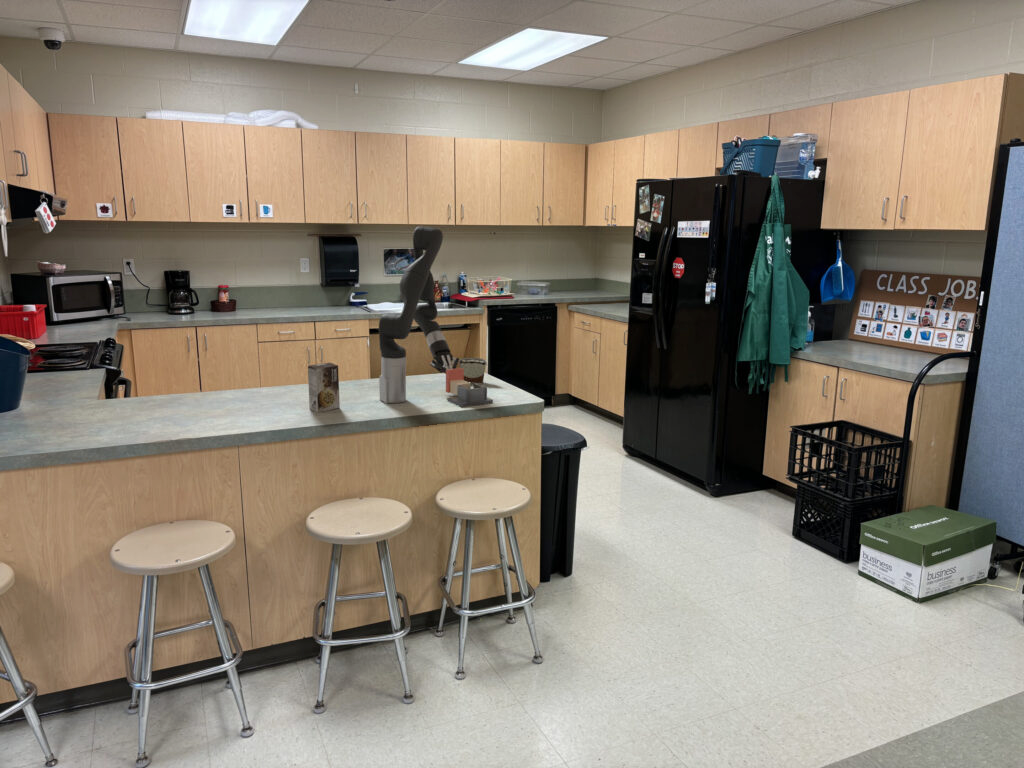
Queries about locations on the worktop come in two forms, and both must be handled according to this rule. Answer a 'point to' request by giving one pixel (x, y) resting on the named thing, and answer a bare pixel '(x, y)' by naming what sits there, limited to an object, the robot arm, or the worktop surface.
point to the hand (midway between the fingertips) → (452, 379)
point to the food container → (473, 369)
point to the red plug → (455, 380)
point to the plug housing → (470, 396)
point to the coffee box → (323, 387)
